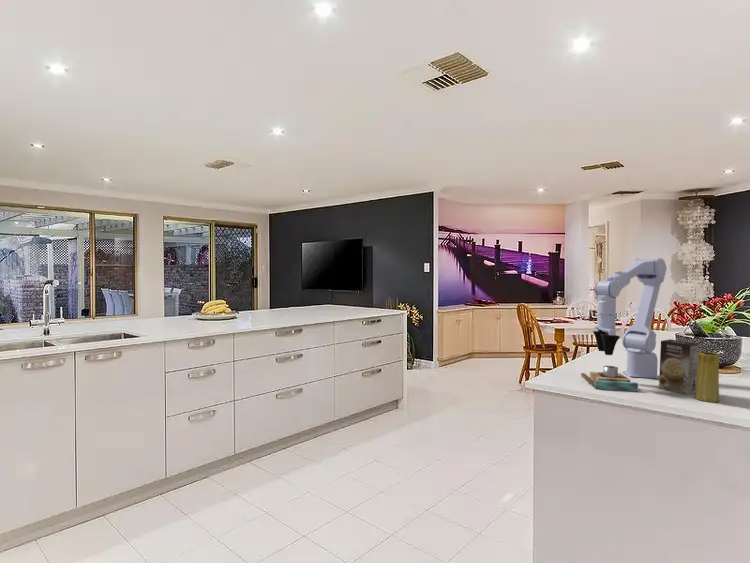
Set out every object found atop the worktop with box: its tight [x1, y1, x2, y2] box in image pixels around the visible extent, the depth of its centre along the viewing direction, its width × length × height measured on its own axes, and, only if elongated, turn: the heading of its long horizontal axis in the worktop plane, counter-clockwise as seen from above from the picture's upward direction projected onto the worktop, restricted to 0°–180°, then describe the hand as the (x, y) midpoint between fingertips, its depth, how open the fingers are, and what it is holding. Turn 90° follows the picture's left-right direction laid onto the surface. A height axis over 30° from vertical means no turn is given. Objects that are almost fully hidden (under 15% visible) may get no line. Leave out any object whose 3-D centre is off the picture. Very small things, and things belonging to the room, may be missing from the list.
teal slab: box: [580, 372, 639, 392], centre depth 159 cm, size 13×18×2 cm
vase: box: [694, 351, 720, 403], centre depth 140 cm, size 6×6×14 cm
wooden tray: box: [588, 371, 631, 382], centre depth 157 cm, size 10×10×3 cm
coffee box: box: [658, 339, 700, 395], centre depth 151 cm, size 9×6×16 cm
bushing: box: [602, 365, 619, 378], centre depth 157 cm, size 4×4×6 cm
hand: (605, 353), depth 162 cm, fingers open, 7 cm apart
